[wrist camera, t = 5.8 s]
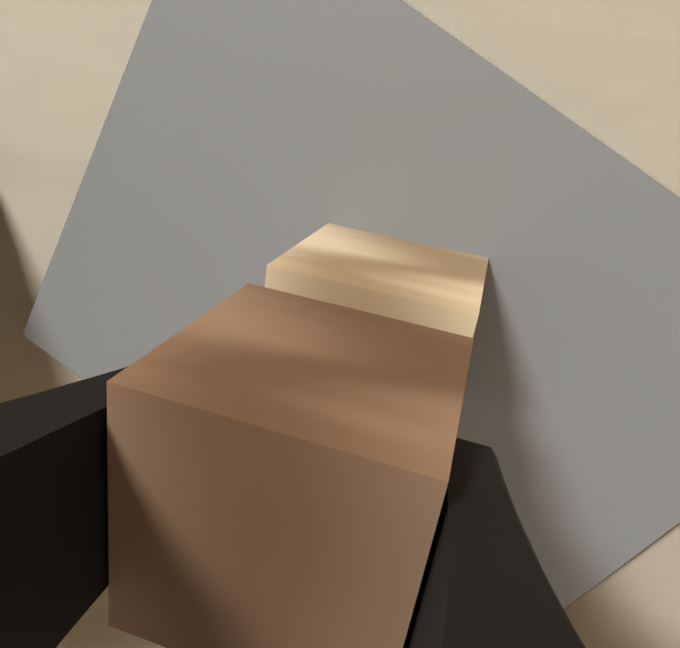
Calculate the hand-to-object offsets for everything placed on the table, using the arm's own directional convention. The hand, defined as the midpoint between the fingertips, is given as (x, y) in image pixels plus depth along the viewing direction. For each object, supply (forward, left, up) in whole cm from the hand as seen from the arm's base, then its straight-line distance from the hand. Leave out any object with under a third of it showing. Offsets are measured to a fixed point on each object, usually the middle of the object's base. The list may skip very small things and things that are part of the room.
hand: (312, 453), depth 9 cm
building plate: (0, +1, -7) cm, 7 cm away
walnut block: (0, 0, -2) cm, 2 cm away
